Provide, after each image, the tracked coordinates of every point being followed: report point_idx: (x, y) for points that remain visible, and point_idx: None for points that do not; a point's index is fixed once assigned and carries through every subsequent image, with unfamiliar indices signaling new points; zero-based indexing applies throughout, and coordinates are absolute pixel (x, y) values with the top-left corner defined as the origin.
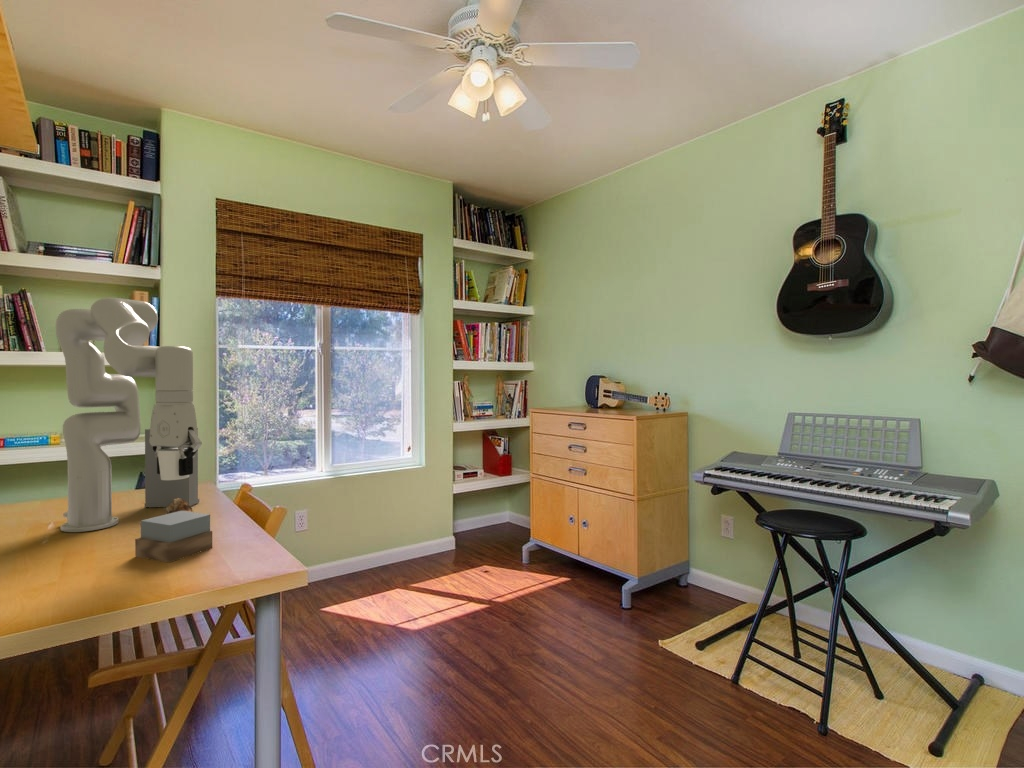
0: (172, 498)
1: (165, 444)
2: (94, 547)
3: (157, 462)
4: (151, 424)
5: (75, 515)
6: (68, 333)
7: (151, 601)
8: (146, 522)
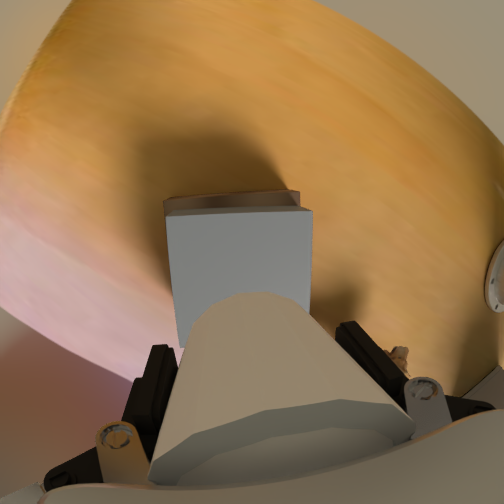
0: (477, 398)
1: (269, 498)
2: (422, 198)
3: (381, 355)
4: None
5: None
6: None
7: (27, 79)
8: (284, 211)
